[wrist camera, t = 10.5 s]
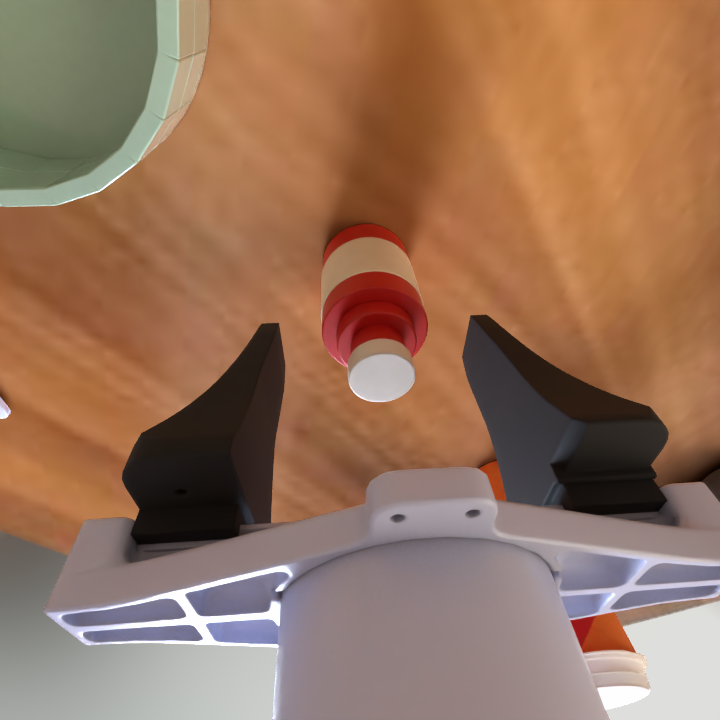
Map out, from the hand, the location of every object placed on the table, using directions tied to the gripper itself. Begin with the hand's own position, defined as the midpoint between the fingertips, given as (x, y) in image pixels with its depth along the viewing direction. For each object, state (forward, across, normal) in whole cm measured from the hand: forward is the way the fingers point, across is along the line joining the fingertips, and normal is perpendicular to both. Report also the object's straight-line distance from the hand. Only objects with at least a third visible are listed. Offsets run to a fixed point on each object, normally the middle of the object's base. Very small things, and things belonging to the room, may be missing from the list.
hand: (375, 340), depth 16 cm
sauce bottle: (+6, 0, 0) cm, 6 cm away
